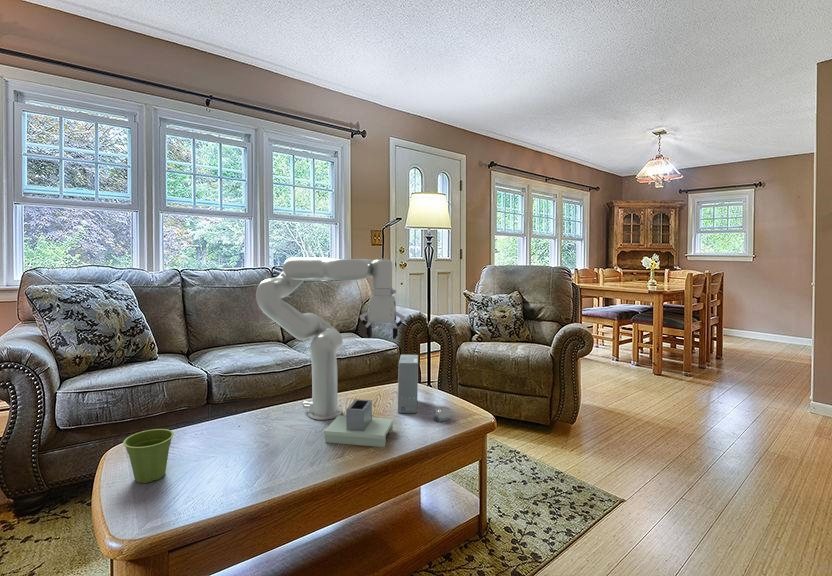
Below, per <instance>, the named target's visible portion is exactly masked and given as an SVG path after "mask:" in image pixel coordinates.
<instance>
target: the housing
mask: <svg viewBox="0 0 832 576" xmlns="http://www.w3.org/2000/svg"><path fill="white" fill-rule="evenodd" d="M345 412H346V413H345V414H346V415H345V416H346V430H352V431H365V429H366V428H367V426H368V425H369V423H370V422H371V421H372V418H373V400H372V399H361V398H360V399H357V398H356V399H354V400H353V401H352V402H351V404H350V405H348V407H347V408H346V409H345Z"/></svg>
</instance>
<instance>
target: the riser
mask: <svg viewBox="0 0 832 576" xmlns="http://www.w3.org/2000/svg"><path fill="white" fill-rule="evenodd" d="M393 429H394V418H383V417H382V418H381V417H372V421H371V422H370V423H369V425H368V426H367V428H366V429H365V431H352V430H346V415H342V414H341V415H338V416H337V417H336V418H334V420H333V421H331V423H330V424H329V425H328V426H327V427H326V428H325V429H324V431H323V435H324V443H329V444H332V443H333V444H344V445H354V446H355V445H356V446H365V447H366V446H367V447H378V448H385V446H386V443H387V441H386V437H387V434H392V433H393V431H394V430H393Z"/></svg>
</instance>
